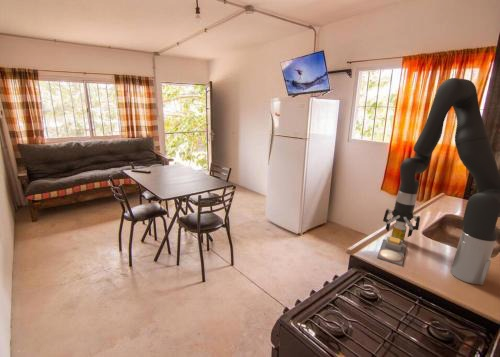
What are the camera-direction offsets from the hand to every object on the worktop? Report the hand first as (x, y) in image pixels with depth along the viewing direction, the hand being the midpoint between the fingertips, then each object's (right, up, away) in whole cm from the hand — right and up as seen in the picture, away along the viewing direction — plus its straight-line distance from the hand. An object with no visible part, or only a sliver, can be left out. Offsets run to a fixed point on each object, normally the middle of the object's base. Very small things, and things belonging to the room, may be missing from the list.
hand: (398, 233), depth 121 cm
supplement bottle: (0, -3, +1) cm, 3 cm away
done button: (-6, -3, -7) cm, 10 cm away
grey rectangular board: (-9, -6, -10) cm, 15 cm away
